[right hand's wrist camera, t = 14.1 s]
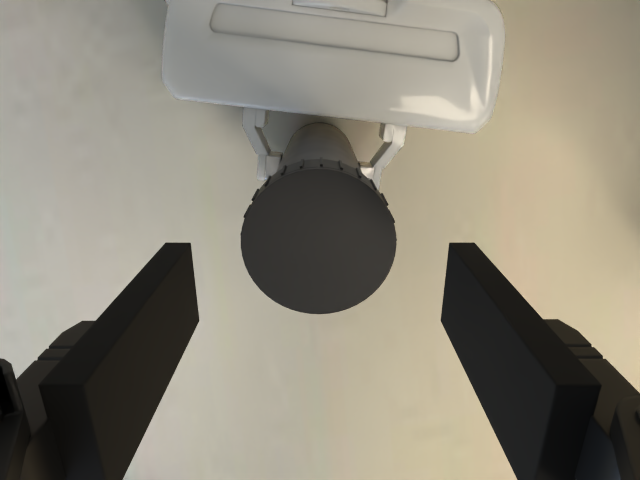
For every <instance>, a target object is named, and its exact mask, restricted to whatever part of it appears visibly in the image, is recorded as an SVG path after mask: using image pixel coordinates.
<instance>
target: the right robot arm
mask: <svg viewBox="0 0 640 480" xmlns="http://www.w3.org/2000/svg"><path fill="white" fill-rule="evenodd" d="M198 322H199V314H198V305H197V296H196V287H195V278H194V269H193V260H192V251H191V243H165V244H164V245H163V246H162V247H161V249H160V250H159V251H158V252H157V253H156V254H155V255H154V256H153V257H152V259H151V260H150V261H149V262H148V263H147V264H146V265H145V266H144V268H143V269H142V270H141V271H140V272H139V273H138V274H137V275H136V276H135V278H134V279H133V280H132V281H131V282H130V283H129V284H128V285H127V286H126V288H125V289H124V290H123V291H122V292H121V293H120V294H119V295H118V297H117V298H116V299H115V300H114V301H113V302H112V303H111V304H110V305H109V307H108V308H107V309H106V310H105V311H104V312H103V313H102V314H101V315H100V317H99V318H98V319H97V320H96V321H81V322H80V323H78V324H76V325H74V326H73V327H71V328H69V329H68V330H66V331H64V332H62V333H61V334H60V335H59V337H58V338H57V339H56V340H55V341H54V342H53V343H52V344H51V345H50V346H49V349H46V350H45V351H44V352H43V353H42V354H41V355H40V356H39V357H38V360H37V361H34V362H33V363H32V364H31V365H30V366H29V367H28V368H27V369H26V370H25V371H24V372H23V373H22V374H21V375H20V376H19V377H18V378H17V379H16V378H15V375H14V371H13V368H12V365H11V363H9V362H8V361H6V360H5V359H0V480H123V477H124V475H125V473H126V471H127V469H128V467H129V465H130V463H131V461H132V459H133V457H134V455H135V453H136V451H137V448H138V446H139V444H140V442H141V440H142V438H143V436H144V434H145V432H146V430H147V428H148V426H149V424H150V422H151V419H152V417H153V415H154V413H155V411H156V409H157V407H158V405H159V403H160V401H161V399H162V397H163V395H164V393H165V390H166V388H167V386H168V384H169V382H170V380H171V378H172V376H173V374H174V372H175V370H176V368H177V366H178V364H179V362H180V359H181V357H182V355H183V353H184V351H185V349H186V347H187V345H188V343H189V341H190V339H191V337H192V335H193V333H194V330H195V328H196V326H197V324H198ZM441 322H442V324H443V326H444V328H445V330H446V333H447V335H448V337H449V339H450V341H451V343H452V345H453V347H454V349H455V351H456V353H457V355H458V357H459V359H460V362H461V364H462V366H463V368H464V370H465V372H466V374H467V376H468V378H469V380H470V382H471V384H472V386H473V388H474V390H475V393H476V395H477V397H478V399H479V401H480V403H481V405H482V407H483V409H484V411H485V413H486V415H487V417H488V419H489V422H490V424H491V426H492V428H493V430H494V432H495V434H496V436H497V438H498V440H499V442H500V444H501V446H502V448H503V451H504V453H505V455H506V457H507V459H508V461H509V463H510V465H511V467H512V469H513V471H514V473H515V475H516V477H517V480H640V393H639V392H638V391H637V390H636V389H635V388H634V387H633V386H632V385H631V384H630V383H629V382H628V381H627V380H626V379H625V378H624V377H623V376H622V375H621V374H620V373H619V372H618V371H617V370H616V369H615V368H614V367H613V366H612V365H611V364H610V363H609V362H608V361H607V360H606V359H603V356H602V355H601V354H600V353H599V352H598V351H597V350H596V349H595V348H594V347H592V346H591V344H590V343H589V342H588V341H587V340H586V339H585V338H584V337H583V336H582V335H581V334H580V333H579V332H578V331H577V330H575V329H574V328H572V327H570V326H568V325H567V324H565V323H563V322H562V321H560V320H558V319H542V318H541V317H540V315H539V314H538V313H537V312H536V311H535V310H534V309H533V308H532V307H531V305H530V304H529V303H528V302H527V301H526V300H525V299H524V298H523V297H522V295H521V294H520V293H519V292H518V291H517V290H516V289H515V288H514V286H513V285H512V284H511V283H510V282H509V281H508V280H507V279H506V278H505V276H504V275H503V274H502V273H501V272H500V271H499V270H498V269H497V268H496V266H495V265H494V264H493V263H492V262H491V261H490V260H489V259H488V257H487V256H486V255H485V254H484V253H483V252H482V251H481V250H480V249H479V247H478V246H477V245H476V244H475V243H449V251H448V260H447V269H446V278H445V287H444V296H443V305H442V314H441Z"/></svg>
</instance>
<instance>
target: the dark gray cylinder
mask: <svg viewBox="0 0 640 480" xmlns="http://www.w3.org/2000/svg"><path fill="white" fill-rule="evenodd" d="M320 157H323V159H328V160H333V161H338V162H339V160H341V161H342V163H344V164H347V165H349V166H351V167H353V168H355V169H356V167H357V168H358V169H359V171H360V172H361V173H362V171H361V169H360V166H359V164H358V162H357V159H356V157H355V154H354V152H353V150H352V147H351V145H350V143H349V141H348V139H347V137H346V136H345V135H344V134H343V132H341V131H340V130H339V129H338V128H336V127H334V126H332V125H329V124H326V123H313V124H309V125H306V126H304V127H302V128H301V129H300V130H298V131H297V132H296V133H295V134H294V135H293V137H292V138H291V140H290V142H289V144H288V146H287V149H286V151H285V153H284V156H283V158H282V160H281V162H280V165H279V167H278V169H277V171H276V172H278V171H279V170H281V169H282V168H283V166H284V165H286V166H288V165H291V164H293V163H296V162H299V161H301V159H304V160H310V159H320Z"/></svg>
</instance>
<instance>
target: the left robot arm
mask: <svg viewBox="0 0 640 480" xmlns="http://www.w3.org/2000/svg"><path fill="white" fill-rule="evenodd" d="M165 2H166V4H167V6H168V9H167V16H166V22H165V30H164V39H163V51H162V81H163V83H164V85H165V86H166V88H167V89H168V90H169V92H170V93H171V95H172V96H173V97H174V98H176V99H180V100H188V101H196V102H205V103H213V104H222V105H231V106H239V107H243V124H242V126H243V128H244V130H245V132H246V134H247V136H248V138H249V140H250V142H251V144H252V146H253V148H254V150H255V152H256V154H258V168H257V180H260V181H266V180H267V178H268V176H269V175H270V176H272V175H273V174H275V173H276V171H277V169H278V167H279V165H280V162H281V160H282V156H283V153H281V152H273V151H271V149H270V147H269V145H268V143H267V140H266V138H265V136H264V134H263V132H262V129H261V128H263V127H264V126H265V125H266V124H267V123H268V117H269V110H273V111H282V112H290V113H299V114H307V115H316V116H325V117H333V118H342V119H350V120H359V121H367V122H376V123H381V125H380V132H379V136H380V138H381V139H382V140H383V141H384V144H383V145H382V146H381V148H380V149H379V150H378V152H377V153H376V154H375V156H374V157H373V158H372V160H371V161H370V162H360V161H358V164H359V166H360V169H361V171H362V173H363V174H364V175H365V176H366V177H367V178H368V179H372V180H373V182H374V184H375V186H376V188H377V189H378V191H379V186H380V180H381V174H382V168H383V169H384V168H385V167H386V166H387V165H388V163H389V162H390V161H391V160H392V159H393V157H394V156H395V155H396V154H397V152H398V151H399V150H400V149H401V148H402V146H403V145H404V141H405V136H406V130H407V126H410V127H419V128H427V129H436V130H444V131H453V132H461V133H470V134H474V133H477V132H478V131H479V130H480V129H481V128H482V127H484V126H485V125H486V124H487V123H488V122H489V121H490V119H491V118H492V115H493V112H494V108H495V104H496V100H497V95H498V90H499V85H500V79H501V73H502V65H503V57H504V48H505V23H504V19H503V15H502V13H501V11H500V9H499V8H498V6H497V5H496V4H495V3H494V2H493V1H491V0H165Z"/></svg>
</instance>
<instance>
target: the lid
mask: <svg viewBox="0 0 640 480" xmlns="http://www.w3.org/2000/svg"><path fill="white" fill-rule="evenodd" d="M252 201H253V202H252V204H251V205H249V207H248V209H247V211H246V213H245V215H244V218H245V219H244V223H243V226H242V232H241V250H242V257H243V260H244V263H245V266H246V268H247V271H248V273H249V275H250V276H251V278H252V279H253V281H254V282H255V284H256V285H257V286H258V287H259V289H260V290H261V291H262V292H264V293H265V294H266V295H267V296H268V297H269V298H271V299H272V300H273V301H275V302H277V303H278V304H280V305H282V306H284V307H287V308H289V309H291V310H295V311H298V312H303V313H309V314H328V313H334V312H339V311H342V310H346V309H348V308H351V307H353V306H355V305H357V304H359V303H360V302H362V301H364V300H365V299H367V298H368V297H369V296H370V295H372V294H373V293H374V292H375V291H376V290H377V289H378V288H379V286H380V285H381V284H382V283H383V281H384V280H385V278H386V277H387V275H388V273H389V271H390V269H391V266H392V264H393V261H394V257H395V251H396V241H397V239H396V232H395V226H394V223H395V221H394V218H393V216H392V215H391V213H390V211H389V209H388V208H387V206H388V203H387V201H386V199H385V197H384V195H383V193H381V194H380V192H379V191H378V189H377V188H376V186H375V184H374V182H373V180H372V179H368V178H367V177H366V176H365V175H364V174H363V173H361V172H360V171H359V169H358V168H357V167H356V169H355V168H353V167H351V166H349V165H347V164H344V163H342V161H341V160H339V162H338V161H333V160H328V159H323V157H320V159H310V160H304V159H301V161H299V162H296V163H293V164H291V165H288V166H286V165H284V166H283V168H282V169H281V170H279V171H278V172H276V173H275V174H273V175H272V176H270V175H269V176H268V178H267V180H266V182H265V183H264V184H263V186H262V187H261V188H260V190H259V189H257V191H256V192H255V194H254V196H253V198H252Z"/></svg>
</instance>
